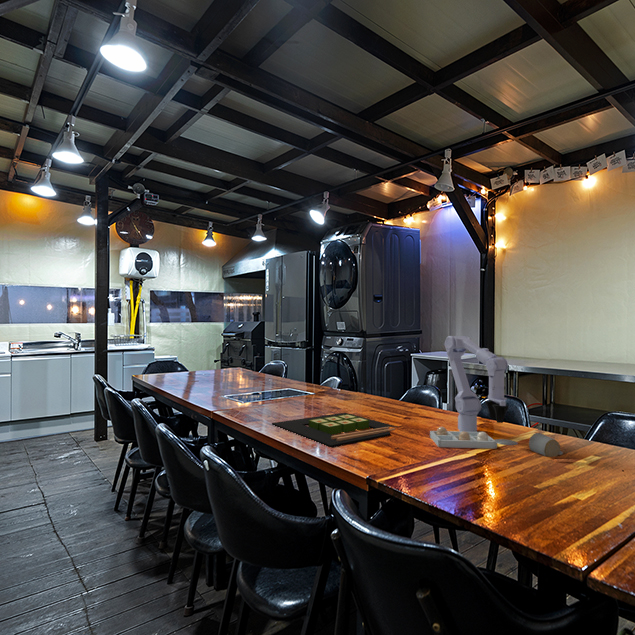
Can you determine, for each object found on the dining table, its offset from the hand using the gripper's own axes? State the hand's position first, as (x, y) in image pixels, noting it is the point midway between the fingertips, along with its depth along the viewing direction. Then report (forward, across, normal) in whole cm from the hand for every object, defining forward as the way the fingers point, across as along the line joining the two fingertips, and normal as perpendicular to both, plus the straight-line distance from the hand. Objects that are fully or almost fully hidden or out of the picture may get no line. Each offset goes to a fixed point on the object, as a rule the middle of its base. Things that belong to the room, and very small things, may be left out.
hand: (496, 420), depth 172 cm
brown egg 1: (+8, 0, +22) cm, 23 cm away
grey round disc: (+9, -1, -3) cm, 10 cm away
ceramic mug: (+10, -14, -14) cm, 22 cm away
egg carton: (+9, -3, +15) cm, 18 cm away
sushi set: (+10, +19, +64) cm, 68 cm away
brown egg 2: (+8, -7, +14) cm, 18 cm away
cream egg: (+8, -6, +8) cm, 13 cm away
